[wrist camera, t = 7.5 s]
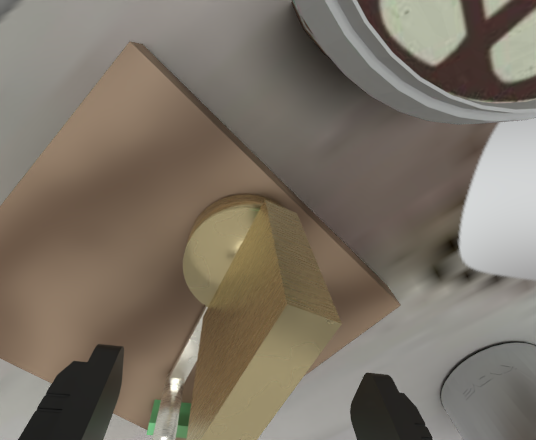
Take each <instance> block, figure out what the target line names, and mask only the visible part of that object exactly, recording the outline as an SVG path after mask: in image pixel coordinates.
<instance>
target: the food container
mask: <svg viewBox="0 0 536 440" xmlns="http://www.w3.org/2000/svg"><path fill="white" fill-rule="evenodd" d="M292 5H293V7H294V9H295V12H296V14H297V16H298V18H299V21H300V23H301V25H302V27H303V29H304V30H305V31H306V33H307V34H308V35H309V36H310V38H311V39H312V40H313V41H314V42H315V44H316V45H317V46H318V47H319V48H320V50H321V51H322V52H323V53H324V54H325V55H327V56H328V57H330V58H331V60H332V61H333V62H334V63H335V64H336V65H337V66H338V68H339V69H340V70H341V71H342V72H343V73H344V74H345V76H346V77H348V78H349V79H350V80H351V81H353V82H354V83H355V84H356V85H358V86H359V87H360V88H361V89H363V90H364V91H365V92H366V93H368V94H369V95H370V96H371V97H373V98H375V99H377V100H378V101H380V102H382V103H384V104H386V105H388V106H390V107H391V108H393V109H395V110H397V111H399V112H402V113H405V114H408V115H411V116H414V117H417V118H421V119H424V120H427V121H434V122H442V123H450V124H478V123H494V122H506V121H518V120H528V119H532V118H536V0H292Z"/></svg>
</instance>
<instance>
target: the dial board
mask: <svg viewBox="0 0 536 440" xmlns="http://www.w3.org/2000/svg"><path fill="white" fill-rule="evenodd" d="M240 194H252V195H259V196H263V197H266V198H269V199H272V200H274V201H276V202H278V203H279V204H281V205H282V206H283V207H285V208H286V209H288V210H290V211H293V212H295V213H297V215H298V217H299V220H300V222H301V224H302V227H303V229H304V232H305V234H306V237H307V239H308V242H309V244H310V247H311V249H312V252H313V254H314V256H315V259H316V261H317V264H318V266H319V269H320V271H321V274H322V276H323V279H324V281H325V283H326V286H327V288H328V291H329V293H330V296H331V298H332V301H333V303H334V306H335V308H336V311H337V313H338V315H339V318H340V320H341V323H342V324H341V326H340V327H339V329H338V330H337V331H336V333H335V334H334V335H333V337H332V338H331V339H330V341H329V342H328V344H327V345H326V346H325V348H324V349H323V350H322V352H321V353H320V354H319V356H318V357H317V359H316V360H315V361H314V363H313V364H312V365H311V367H310V368H309V369H308V371H307V372H306V374H308V373H309V372H310V371H312V370H313V369H314V368H316V367H317V366H318V365H320V364H321V363H323V362H324V361H325V360H327V359H328V358H329V357H331V356H332V355H333V354H335V353H336V352H338V351H339V350H340V349H342V348H343V347H344V346H346V345H347V344H348V343H350V342H351V341H353V340H354V339H355V338H357V337H358V336H359V335H361V334H362V333H364V332H365V331H366V330H368V329H369V328H370V327H372V326H373V325H374V324H376V323H377V322H379V321H380V320H381V319H383V318H384V317H385V316H387V315H388V314H389V313H391V312H392V311H394V310H395V309H396V308H398V307H399V306H400V304H399V302H398V301H397V299H396V298H395V296H394V295H393V293H392V292H391V290H390V289H389V287H388V286H387V285H386V284H385V283H384V282H383V281H382V280H381V279H380V278H379V277H378V276H377V275H376V274H375V273H374V272H373V271H372V270H371V269H370V268H369V267H368V266H367V265H366V264H365V263H364V262H363V261H362V260H361V259H360V258H359V257H358V256H357V255H356V254H355V253H354V252H353V251H352V250H351V249H350V248H349V247H347V246H346V245H345V244H344V243H343V242H342V241H341V240H340V239H339V238H338V237H337V236H336V235H335V234H334V233H333V232H332V231H331V230H330V229H329V228H328V227H327V226H326V225H325V224H324V223H323V222H322V221H321V220H320V219H319V218H318V217H317V216H316V215H315V214H314V213H313V212H312V211H311V210H310V209H309V208H308V207H307V206H306V205H305V204H304V203H303V202H302V201H301V200H300V199H299V198H298V197H297V196H296V195H295V194H294V193H293V192H292V191H291V190H290V189H289V188H288V187H287V186H286V185H285V184H284V183H283V182H282V181H281V180H280V179H279V178H278V177H277V176H275V175H274V174H273V173H272V172H271V171H270V170H269V169H268V168H267V167H266V166H265V165H264V164H263V163H262V162H261V161H260V160H259V159H258V158H257V157H256V156H255V155H254V154H253V153H252V152H251V151H250V150H249V149H248V148H247V147H246V146H245V145H244V144H243V143H242V142H241V141H240V140H239V139H238V138H237V137H236V136H235V135H234V134H233V133H232V132H231V131H230V130H229V129H228V128H227V127H226V126H225V125H224V124H223V123H222V122H221V121H220V120H219V119H218V118H217V117H216V116H215V115H214V114H213V113H212V112H211V111H210V110H209V109H208V108H207V107H206V106H205V105H203V104H202V103H201V102H200V101H199V100H198V99H197V98H196V97H195V96H194V95H193V94H192V93H191V92H190V91H189V90H188V89H187V88H186V87H185V86H184V85H183V84H182V83H181V82H180V81H179V80H178V79H177V78H176V77H175V76H174V75H173V74H172V73H171V72H170V71H169V70H168V69H167V68H166V67H165V66H164V65H163V64H162V63H161V62H160V61H159V60H158V59H157V58H156V57H155V56H154V55H153V54H152V53H151V52H150V51H149V50H148V49H147V48H146V47H145V46H144V45H143V44H139V43H134V42H129V43H128V44H127V46H126V47H125V48H124V50H123V51H122V52H121V53H120V55H119V56H118V57H117V58H116V60H115V61H114V62H113V64H112V65H111V66H110V67H109V69H108V70H107V71H106V72H105V74H104V75H103V76H102V78H101V79H100V80H99V81H98V83H97V84H96V85H95V86H94V88H93V89H92V90H91V92H90V93H89V94H88V95H87V97H86V98H85V99H84V100H83V102H82V103H81V104H80V105H79V107H78V108H77V109H76V111H75V112H74V113H73V114H72V116H71V117H70V118H69V119H68V121H67V122H66V123H65V125H64V126H63V127H62V128H61V130H60V131H59V132H58V133H57V135H56V136H55V137H54V139H53V140H52V141H51V142H50V144H49V145H48V146H47V147H46V149H45V150H44V151H43V153H42V154H41V155H40V156H39V158H38V159H37V160H36V161H35V163H34V164H33V165H32V167H31V168H30V169H29V170H28V172H27V173H26V174H25V175H24V177H23V178H22V179H21V180H20V182H19V183H18V184H17V186H16V187H15V188H14V189H13V191H12V192H11V193H10V194H9V196H8V197H7V198H6V200H5V201H4V202H3V203H2V205H1V206H0V358H1V359H3V360H5V361H7V362H9V363H11V364H13V365H15V366H17V367H19V368H21V369H23V370H25V371H27V372H29V373H31V374H34V375H36V376H38V377H40V378H42V379H44V380H46V381H48V382H50V383H53V381H54V379H55V378H56V376H57V375H58V374H59V373H60V372H61V371H62V370H63V369H65V368H66V367H67V366H68V365H69V364H71V363H72V362H73V361H81V362H88V360H89V358H90V356H91V354H92V353H93V351H94V349H95V347H96V346H97V345H98V344H105V345H114V346H123V347H124V359H123V373H122V384H121V389H120V393H119V397H118V400H117V403H116V406H115V409H114V412H113V413H114V414H116V415H118V416H120V417H122V418H124V419H126V420H128V421H130V422H132V423H134V424H136V425H138V426H140V427H142V428H144V429H146V430H147V435H153V433H154V429H155V424H156V420H157V416H158V411H159V407H160V402H161V398H162V394H163V389H164V385H165V380H166V376H167V375H168V374H169V373H170V372H171V370H172V368H173V366H174V364H175V362H176V360H177V358H178V357H179V355H180V353H181V351H182V349H183V347H184V345H185V343H186V341H187V339H188V337H189V336H190V334H191V332H192V330H193V328H194V326H195V324H196V322H197V320H198V318H199V316H200V315H201V313H202V311H203V309H204V307H205V305H203V304H202V303H201V302H200V301H199V300H198V299H197V298H196V297H195V296H194V295H193V294H192V292H191V291H190V289H189V288H188V285H187V283H186V281H185V277H184V274H183V258H184V253H185V249H186V245H187V242H188V238H189V235H190V232H191V229H192V226H193V224H194V223H195V221H196V219H197V218H198V217H199V215H200V214H201V213H202V212H203V211H204V210H205V209H206V208H207V207H209V206H210V205H211V204H213V203H215V202H217V201H218V200H221V199H223V198H226V197H229V196H233V195H240ZM196 365H197V361H196V363H195V365H194V366H193V368H192V370H191V372H190V374H189V375H188V377H187V379H186V381H185V384H184V390H183V396H182V402H181V408H180V414H179V420H178V426H177V432H176V438H175V440H186V439H187V432H188V424H189V417H190V410H191V402H192V395H193V388H194V380H195V373H196ZM306 374H305V375H306ZM305 375H304V376H305Z"/></svg>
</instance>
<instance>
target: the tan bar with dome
mask: <svg viewBox="0 0 536 440" xmlns="http://www.w3.org/2000/svg"><path fill="white" fill-rule="evenodd" d="M183 274H184V277H185V281H186V283H187V285H188V288H189V289H190V291H191V292H192V294H193V295H194V296H195V297H196V298H197V299H198V300H199V301H200V302H201V303H202V304H203V305H205V307H204V309H203V311H202V313H201V315H200V316H199V318H198V320H197V322H196V324H195V326H194V328H193V330H192V332H191V334H190V336H189V337H188V339H187V341H186V343H185V345H184V347H183V349H182V351H181V353H180V355H179V357H178V358H177V360H176V362H175V364H174V366H173V368H172V370H171V372H170V373H169V374H168V375H167V376H166V380H165V385H164V389H163V394H162V398H161V402H160V407H159V411H158V416H157V420H156V424H155V429H154V433H153V438H152V440H175V438H176V432H177V426H178V420H179V414H180V408H181V402H182V396H183V390H184V384H185V381H186V379H187V377H188V375H189V374H190V372H191V370H192V368H193V366H194V365H195V363H196V361H197V365H196V373H195V380H194V388H193V395H192V402H191V410H190V417H189V424H188V432H187V439H186V440H257V439H258V438H259V436H260V435H261V433H262V432H263V431H264V429H265V428H266V427H267V425H268V424H269V423H270V421H271V420H272V418H273V417H274V416H275V414H276V413H277V412H278V410H279V409H280V408H281V406H282V405H283V403H284V402H285V401H286V399H287V398H288V397H289V395H290V394H291V393H292V391H293V390H294V389H295V387H296V386H297V384H298V383H299V382H300V380H301V379H302V378H303V376H304V375H305V374H306V372H307V371H308V369H309V368H310V367H311V365H312V364H313V363H314V361H315V360H316V359H317V357H318V356H319V354H320V353H321V352H322V350H323V349H324V348H325V346H326V345H327V344H328V342H329V341H330V339H331V338H332V337H333V335H334V334H335V333H336V331H337V330H338V329H339V327H340V326H341V324H342V323H341V320H340V318H339V315H338V313H337V311H336V308H335V306H334V303H333V301H332V298H331V296H330V293H329V291H328V288H327V286H326V283H325V281H324V279H323V276H322V274H321V271H320V269H319V266H318V264H317V261H316V259H315V256H314V254H313V252H312V249H311V247H310V244H309V242H308V239H307V237H306V234H305V232H304V229H303V227H302V224H301V222H300V220H299V217H298V215H297V213H295V212H293V211H290V210H288V209H286V208H285V207H283V206H282V205H281V204H279V203H278V202H276V201H274V200H272V199H269V198H266V197H263V196H259V195H252V194H240V195H233V196H229V197H226V198H223V199H221V200H218V201H217V202H215V203H213V204H211V205H210V206H209V207H207V208H206V209H205V210H204V211H203V212H202V213H201V214H200V215H199V217H198V218H197V219H196V221H195V223H194V224H193V226H192V229H191V232H190V235H189V238H188V242H187V245H186V249H185V253H184V258H183Z"/></svg>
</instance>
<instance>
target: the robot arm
mask: <svg viewBox="0 0 536 440" xmlns="http://www.w3.org/2000/svg"><path fill="white" fill-rule="evenodd" d="M123 359H124V347H123V346H114V345H105V344H98V345H97V346H96V347H95V349H94V351H93V353H92V354H91V356H90V358H89V360H88V362H81V361H73V362H72V363H71V364H69V365H68V366H67V367H66V368H65V369H63V370H62V371H61V372H60V373H59V374H58V375H57V376H56V378H55V379H54V381H53V383H52V384H51V386H50V388H49V389H48V391H47V393H46V396H44V398H43V399H42V401H41V403H40V404H39V406H38V408H37V411H35V413H34V414H33V416H32V417H31V419H30V421H29V422H28V424H27V426H26V427H25V429H24V431H23V432H22V434H21V436H20V437H19V439H18V440H103V438H104V436H105V433H106V430H107V428H108V425H109V422H110V420H111V417H112V414H113V412H114V409H115V406H116V403H117V400H118V397H119V393H120V389H121V384H122V373H123ZM441 401H442V405H443V407H444V408H445V410H446V412H447V413H448V415H449V417H450V418H451V420H452V422H453V423H454V425H455V427H456V428H457V430H458V432H459V433H460V435H461V437H462V438H463V440H536V346H534V345H531V344H528V343H507V344H502V345H497V346H493V347H491V348H488V349H485V350H483V351H480V352H479V353H477V354H475V355H473V356H471V357H470V358H468V359H467V360H465V361H464V362H463V363H461V364H460V365H459V366H458V367H457V368H456V369H455V370H454V371H453V372H452V373H451V374H450V376H449V377H448V379H447V380H446V381H445V384H444V386H443V389H442V393H441ZM350 414H351V421H352V425H353V428H354V431H355V434H356V437H357V440H432V436H431V434H430V432H429V430H428V428H427V427H425V422H424V421H423V419H422V417H421V415H420V413H419V411H418V409H417V407H416V406H415V405H414V404H413V403H412V402H411V401H410V400H409V398H408V397H407V396H406V395H405V394H404V393H399V391H398V389H397V387H396V385H395V383H394V381H393V379H392V378H391V377H390V376H389V375H384V374H374V373H366V374H365V375H364V377H363V379H362V381H361V383H360V385H359V388H358V390H357V392H356V394H355V396H354V398H353V401H352V403H351V410H350Z"/></svg>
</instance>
